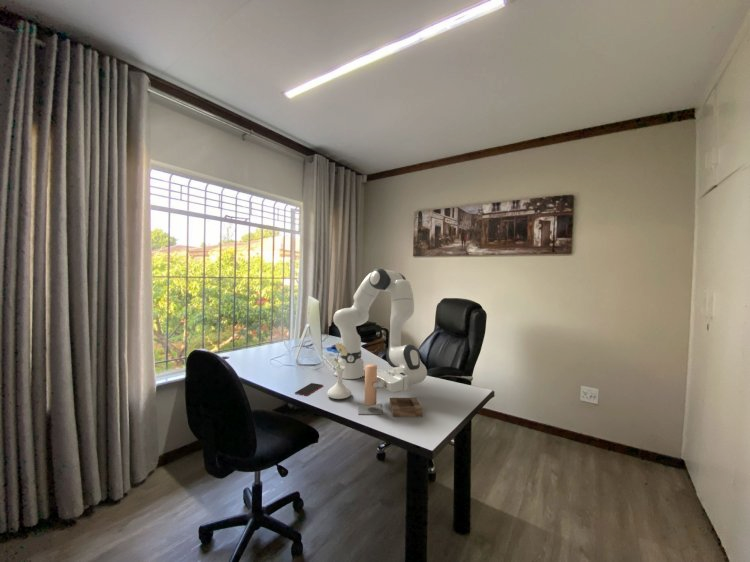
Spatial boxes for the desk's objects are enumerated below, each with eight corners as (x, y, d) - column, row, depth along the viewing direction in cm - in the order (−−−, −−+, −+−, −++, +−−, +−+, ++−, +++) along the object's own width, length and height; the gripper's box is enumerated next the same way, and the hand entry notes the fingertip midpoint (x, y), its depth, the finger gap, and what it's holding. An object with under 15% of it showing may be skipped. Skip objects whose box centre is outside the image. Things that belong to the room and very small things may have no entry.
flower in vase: (354, 399, 138) (355, 345, 138) (330, 402, 134) (331, 346, 134) (346, 389, 151) (347, 339, 150) (323, 392, 146) (325, 341, 146)
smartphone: (293, 392, 144) (311, 382, 158) (293, 394, 144) (311, 384, 158) (307, 395, 141) (323, 384, 155) (307, 397, 141) (323, 386, 155)
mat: (358, 404, 133) (358, 403, 133) (380, 404, 134) (380, 403, 134) (358, 414, 123) (358, 413, 123) (382, 414, 124) (382, 413, 124)
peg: (364, 401, 130) (365, 364, 130) (375, 400, 131) (376, 364, 131) (364, 405, 125) (365, 367, 125) (376, 405, 126) (377, 367, 126)
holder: (389, 404, 134) (389, 397, 134) (416, 404, 135) (416, 397, 135) (393, 416, 122) (393, 409, 122) (422, 416, 123) (422, 409, 123)
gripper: (383, 364, 144) (357, 368, 137) (409, 376, 126) (382, 382, 119) (382, 377, 144) (357, 382, 137) (409, 391, 126) (381, 398, 119)
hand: (369, 382), depth 128 cm, fingers closed on peg, 5 cm apart
